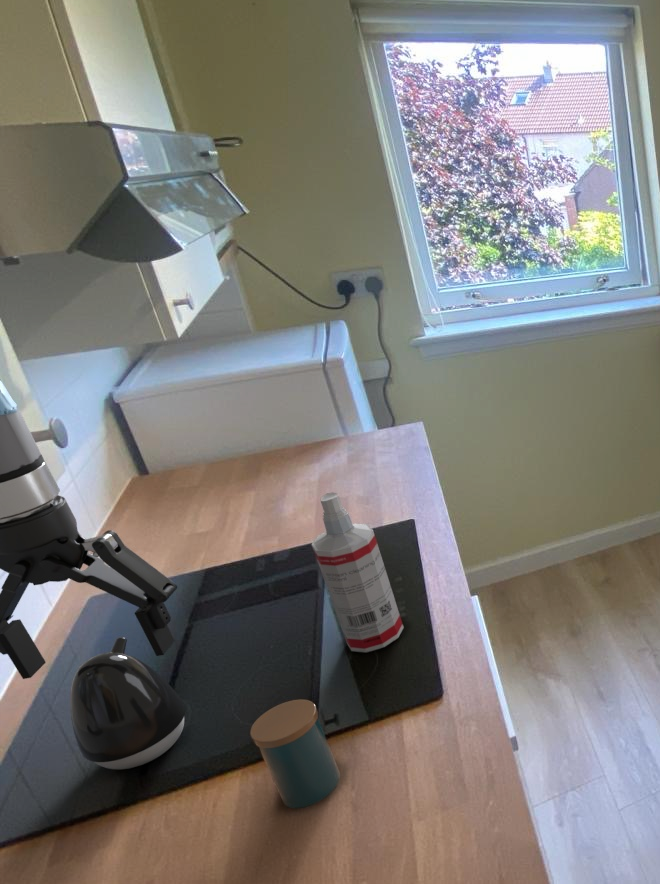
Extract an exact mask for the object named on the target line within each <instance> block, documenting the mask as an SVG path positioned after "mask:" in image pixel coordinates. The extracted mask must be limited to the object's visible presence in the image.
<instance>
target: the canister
mask: <svg viewBox="0 0 660 884" xmlns="http://www.w3.org/2000/svg"><path fill="white" fill-rule="evenodd" d="M249 735H250V738H251V740H252V742H253V744H254V745H255V746H256V747H257V748H258V750H259V752H260V754H261V757H262V759H263V761H264V763H265V766H266V768H267V770H268V772H269V775H270V776H271V778H272V781H273V783H274V785H275V787H276V790H277V792H278V793H279V796H280V798H281V800H282V803H283V804H284V806H285V807H287V808H290V809H302V808H306V807H309V806H313V805H315V804H316V803H319V802H320V801H322V800H324V799H325V798H327V796H329V795H330V794H331V793H332V792H333V791H334V790H335V789H336V788H337V786H338V784H339V782H340V780H341V772H340V769H339V766H338V763H337V762H336V760H335V759H336V758H335V757H334V754H333V752H332V749H331V746H330V744H329V742H328V739H327V736H326V734H325V732H324V729H323V727H322V724H321V722H320V719H319V711H318V709H317V706H316V704H315V703H314V702H313V701H312V700H308V699H305V698H304V699H303V698H300V699H292V700H289V701H285V702H282V703H279V704H278V705H275V706H273V707H272V708H270V709H268V710H266V711H264V713H262V714H261V715H260V716H259V717H258V718H257V719H256V720H255V721H254V723H253V724H252V726H251V728H250V731H249Z"/></svg>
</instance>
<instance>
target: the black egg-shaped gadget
mask: <svg viewBox="0 0 660 884" xmlns="http://www.w3.org/2000/svg"><path fill="white" fill-rule="evenodd" d="M127 641H128V639H127V638H126V637H123V636H122V637H117V638H116V639H115V641H114V643H113V645H112V648H111V650H110V652H109V651H108V652H104V653H99V654H97V655H95V656H93V657H90V658H88V659H87V660H86V661H84V662H83V663H82V664H81V665H80V666H79V667H78V669H77V671H76V672H75V674H74V677H73V679H72V682H71V688H70V694H69V695H70V696H69V697H70V698H69V707H70V719H71V725H72V730H73V735H74V738H75V742H76V744H77V747H78V749H79V751H80V753H81V755H82V757H83V758H84V759H86V760H87V761H89V762H93V763H94V764H96V765H97V766H99V767H102V768H105V769H109V770H127V769H128V770H129V769H133V768H136V767H140V766H142V765H146V764H149V762H152V761H154V760H156V759H158V758H159V757H160V756H162V755H164V754H165V753H166V752H167V751H168V750H169V749H171V748H172V747H173V745H175V743H176V742H177V741H178V739H179V738H180V736H181V734H182V732H183V729H184V725H185V715H186V705H185V703H184V702H183V700H182V698H181V697H180V696H179V694H178V692H176V690H175V689H174V688H173V687H172V686H171V685H170V683H169V682H168V681H167V680H166V679H165V678H164V677H163V676H161V674H159V673H158V672H157V671H156V670H154V669H153V668H151V667H150V666H149V665H148V664H146V663H145V662H143V661H141V659H138V658H136V657H135V656H132V655H129V654H126V653H125V651H126V646H127Z"/></svg>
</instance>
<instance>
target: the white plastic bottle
mask: <svg viewBox="0 0 660 884" xmlns="http://www.w3.org/2000/svg"><path fill="white" fill-rule="evenodd" d="M319 501H320V504H321V507H322V510H323V512H322V517H323V518H322V520H323V524H324V528H325V532H323V533H320V534H318V535H317V537H316V538H315V539H314V540H313V541H312V543H311V548H312V550H313V553H314V555H315V556H314V557H315V559H316V561H317V564H318V566H319V569H320V572H321V575H322V578H323V580H324V583H325V587H326V589H327V592H328V595H329V597H330V600H331V603H332V607H333V609H334V611H335V614H336V617H337V620H338V623H339V625H340V629H341V632H342V635H343V636H344V639H345V643H346V645H347V646H348V648H349V650H350V651H351V652H357V653H369V652H373V651H377V650H380V649H382V648H386V647H387V646H388V645H390V644H391V643H393V642H394V641H397V639H399V637H400V635H401V634H402V632H403V630H404V628H405V627H404V624H403V621H402V618H401V614H400V611H399V608H398V604H397V602H396V598H395V596H394V592H393V589H392V586H391V583H390V580H389V576H388V573H387V570H386V567H385V564H384V561H383V557H382V554H381V552H380V547H379V545H378V541H377V538H376V535H375V532H374V529H373V528H372V527H371V526H370V525H369V524H368V523H357V522H352V519H351V516H350V514H349V512H348V511H347V509H346V508H345V507H344V506H343V504H342V501H341V498H340V495H339V494H338V493H337V492H333V491H332V492H327V493H325V494H324V495H322V496H321V498H320V499H319Z"/></svg>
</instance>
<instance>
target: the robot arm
mask: <svg viewBox="0 0 660 884" xmlns="http://www.w3.org/2000/svg"><path fill="white" fill-rule="evenodd" d="M60 489H61V488H60V487H59V485H58V483H57V481H56V480H55V477H54V476H53V474H52V472H51V470H50V468H49V466H48V465H47V463H46V460H45V459H44V457H43V454H42V453H41V451H40V449H39V446H38V445H37V443H36V441H35V439H34V436H33V434H32V432H31V430H30V428H29V427H28V424H27V423H26V421H25V418H24V416H23V414H22V412H21V411H20V408H19V406H18V405H17V402H15V401H14V399H13V398H12V396H11V395H10V393H9V391H8V390H7V388H6V386H5V384H4V383H3V381H2V380H1V379H0V570H1V571H3V572H6V573H7V574H8V575H7V576H6V579H5V581H4V582H3V584H2V585H1V588H0V589H1V591H0V654H1V655H3V656H4V655H7V656H8V657H9V659H10V660H11V662H12V664H13V666H15V669H16V671H17V672H18V673H19V675H20V677H21V679H23V680H27V679H31V678H32V677H33V676H35V674H36V673H37V672H38V671H39V670H40V669H41V668H42V667H43V666H44V665H45V664H46V660H45V659H44V657H43V655H42V653H41V651H40V649H39V648H38V646H37V645H36V643H35V641H34V640H33V638H32V637H31V635H30V633H29V631H28V630H27V629H26V627H25V625H24V623H23V622H22V620H21V619H20V618H19V619H13V620H11V619H12V618H13V617H14V616H15V615H14V612H15V610H16V608H17V607H18V605H19V603H20V601H21V599H22V597H23V595H24V593H25V592H26V590H27V588H28V586H29V585H30V584H32V585H33V586H39V585H44V584H47V583H49V582H51V583H52V582H54V583H59V582H66V581H68V580H71V581H73V582H75V583H78V584H82V583H86V584H87V585H90V586H92V587H95V588H96V589H99V590H101V591H103V592H105V593H107V594H109V595H112V596H114V597H116V598H118V599H120V600H122V601H124V602H126V603H129V604H131V605H133V606H135V607H137V610H136V611H135V612H134V615H135V617H136V619H137V621H138V623H139V625H140V627H141V629H142V631H143V633H144V635H145V636H146V637H145V638H146V639H147V641H148V642H149V644H150V646H151V649H152V650H153V652H154V654H155V656H156V657H159V656H165V654H166V653H167V652H168V650H169V649H170V648H171V647H172V645H173V644H174V642H175V641H176V640H175V638H174V636H173V634H172V632H171V629H170V627H169V624H170V622H171V621H172V620H171V619H172V616H171V614H170V612H169V610H168V608H167V607H166V604H165V602H167V601H168V599H169V598H170V597H171V596H172V595H173V594H174V593H175V591H176V590H177V589H178V585H177V584H176V583H175V582H174V581H173V580H172V579H170V578H169V577H167V576H166V575H165V574H164V573H162V572H161V571H159V570H158V569H157V568H156V567H154V566H153V565H152V564H150V563H149V562H147V561H146V560H145V559H144V558H142V557H141V556H140V555H138V554H137V553H135V552H134V551H133V550H132V549H130V548H129V547H128V546H127V545H125V543H124V541H123V540H122V539H121V538H120V536H119V534H118V533H117V532H116V531H114V530H111V529H110V530H106V531H104V533H102V534H101V535H99V536H95V537H90V538H86V537H85V536H83V535H82V534H80V532H79V530H78V523H77V518H76V516H75V515H74V513H73V511H72V510H71V507H70V505H69V503H68V502H67V500H66V498H65V497H64V496H61V495H59V494H60V492H61V490H60ZM83 565H86V566H88V567H87V568H86V567H85V569H83V570H82V567H83ZM10 620H11V621H10ZM8 621H10V622H8Z"/></svg>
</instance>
